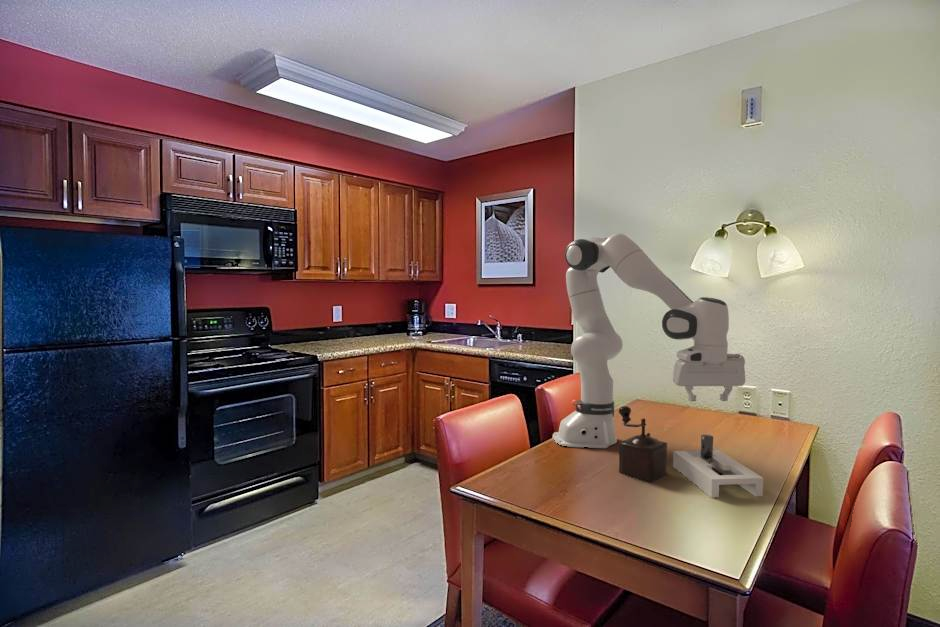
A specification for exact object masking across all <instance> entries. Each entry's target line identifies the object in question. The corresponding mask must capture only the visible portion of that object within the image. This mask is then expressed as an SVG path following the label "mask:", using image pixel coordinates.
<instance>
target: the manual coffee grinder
mask: <svg viewBox="0 0 940 627" xmlns="http://www.w3.org/2000/svg"><path fill="white" fill-rule="evenodd" d="M631 413H632V409H631V407H630V406H627V405H626V406H624V405H623V406H621V407H619V409H618V414H619V415H621V417H622V418H621V419H622V420H621V421H622V422H623V426H624V427H628V428H629V427H630V428H639V427H641V434H638V435H634V436H631V437H630V438H627V439H625V440H623V441H620V442H619V444H618V446H619V450H618V451H619V453H618V454H619V457H618V469H619V470H618V473H619V472H620V473H619V474H621V473H622V475H624V474H625V475H624V476H627V475H628V476H627V477H630V476H631V477H630V478H633V477H635V478H634V479H636V478H638V479H637V480H640V479H641V480H640V481H644V480H645V481H644V482H647V481H648V483H652V481H653V482H655V481H657V480H659V479H660V478H662V477H663V475H664V476H666V475H667V471H668V470H667V468H668V466H667V464H668V462H667V461H668V442H665V441H661V440H659V439H657V438H655V437H652V436H651V433H650V432H648V433H646V426H647V424H646V419H645V418H641V419H640V421H641V422H640V423H636V424H635V423H629V422H630V421H632V418H631V417H630V415H631ZM661 476H662V477H661ZM656 479H657V480H656ZM654 480H655V481H654Z"/></svg>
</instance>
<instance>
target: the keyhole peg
mask: <svg viewBox="0 0 940 627" xmlns="http://www.w3.org/2000/svg"><path fill="white" fill-rule="evenodd" d="M700 450H701V456H702V457H703V460H705V461H706V462H708V463H709V464H711V461H710V458H713V450H714V436H713V435H710V434H701V435H700ZM712 470H713V471H714V472H716V473H717V471H716V469H715V468H712Z"/></svg>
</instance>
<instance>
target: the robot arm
mask: <svg viewBox="0 0 940 627" xmlns="http://www.w3.org/2000/svg"><path fill="white" fill-rule="evenodd" d="M564 257H565V258H564V260H565V262H566V264H567V266H568V267H569V268H568V269H567V270H566V273H565V283H566V291H567V296H568V300H569V304H570V308H571V311H572V316H573V318H574V320H575V321H576V322H577V323H578V324H579V326H580V327H581V330H582V332H583V333H582V334H581V335H579V336H578V337H576V338H575V339H574V340H573V341H572V343H571V347H570V354H571V356H572V358H573V359H574V361H576V364H577V367H578V370H579V371H578V372H579V376H580V399H579V400H577V399H572V401H571V404H572V406H574V407H575V408H574V409H575V410H574V411H573V412H571V413H569V415H567V416H566V417H564V418H563V419H561V421H560V423H559V428H558V431H555V432H553V433H552V440H553V439H554V440H555V441H554V440H553V441H554V442H555V444H557V443H558V444H559V446H560V445H562V446H561V447H563V446H567V447H566V448H584V447H588V448H592V449H607V448H609V447H610V446H612V445H614V444H616V443H617V442H618V439H617V436H616V432H615V423H614V417H615V401H614V379H613V377H612V376H611V374H610V370H609V367H608V366H609V365H608V361H610V360H612V359H614V358H616V357H617V356H618V355H619V354H620V353H621V352H622V350H623V340H622V337H621V336H620V335H619V333H617V331H616V330H615V329H614V327H613V324H612V322H611V321H610V319H609V316H608V315H607V313H606V312H607V311H606V310H605V305H604V302H603V298H602V294H601V290H600V287H599V284H598V275H599V273H602V274H603V273H605V272H606V271H607V270H609V268H611V269H612V271H613V272H614V273H615V274H616V276H617V277H618V278H619V279H620V280H621V281H622V282H623V283H624V284H626V286H628V287H630V288H632V289H635V290H640V291H644V292H647V293H650V294H653V295H655V296H656V297H657V298H659V299H660V300H662V302H663V303H664V304H665V305H666V306H667V307H668V308H669V310H668V311H667V312H666V313H665V314H664V315H663V317H662V320H661V326H662V331H663V333H665V335H666V336H667V337H668V338H670V339H673V340H676V341H677V340H678V341H681V340H683V341H684V340H693V346H690V347H687V348H684V349H681V350H679V351H677V352H676V358H677V360H676V361H675V363H674V366H673V370H672V371H673V372H672V381H673V383H674V385H676V386H678V387H684V389H685V390H686V393H687V394H688V397H687V398H688V401H689V402H697V395H696V394H694V393H693V390H694V387H723V389H724V390H723V392H722V393H720V394H719V401H721V402H728V400H729V395H730V394H731V392H732V391H733V387H743V386H744V385H745V384H746V371H745V366H746V365H745V362H746V360H745V357H744V356H743V355H741V354H740V353H728V346H729V344H728V338H727V336H728V332H729V329H730V328H729V326H730V325H729V323H730V322H729V320H730V318H729V316H730V315H729V307H728V305H727V303H726V302H725V301H724V300H721V299H719V298H714V297H707V296H706V297H705V296H702V297H699V298H697V300H695V301H693V300H692V299H690V297H689V296H687V294H686V293H684V291H683V290H681V289H680V288H679V287H678V285H677V284H676V283H674V282H673V281H672V280H671V279H670V278H669V276H667V275H666V274H665V273H664V272H663V271H662V270H661V269H660V268H659V267H658V266H657V265H656V264H655V262H653V260H652V259H651V258H650V257H649V256H648V255H647V253H646V252H644V250H643V249H642V247H640V246H639V245H638V244H637V243H636V242H634V240H632V239H631V238H629V237H628V236H627V235H625V234H623V233H614V234H612V235H610V236H608V237H590V238H581V239H580V238H578V239H575V240H574V241H573V240H572V242H570V243H568V245H567V246H566V249H565V251H564ZM558 444H557V445H558ZM588 448H587V449H588Z"/></svg>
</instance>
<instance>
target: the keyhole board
mask: <svg viewBox="0 0 940 627" xmlns="http://www.w3.org/2000/svg"><path fill="white" fill-rule="evenodd" d="M672 455H673V457H672V467H673V468H674V469H675V470H676V469H677V470H676V471H677V472H679V473H680V472H681V473H682V474H683V475H682V474H681V473H680V474H681V475H682V476H684V477H685V478H686V477H687V478H688V481H690V482H691V481H692V482H693V483H692V482H691V483H692V484H694V485H695V484H696V485H697V486H698V489H700V490H701V491H702V490H703V491H704V492H703V491H702V492H703V493H705V494H706V495H707V494H708V495H709V496H708V495H707V496H708V497H710V498H711V499H713V498H714V499H716V498H715V497H718V498H719V497H720V496H719V495H720V486H724V485H738V486H739V487H741V488H742V489H743V490H745V491H747V492H748V493H750V494H751V495H752V496H753V497H755V498H756V497H763V496H764V495H763V494H764V477H762V476H761V475H759V474H758V473H757V472H755V471H753V470H751V469H750V468H748V467H746V466H744V465H743V464H742V463H740V462H739V461H736V460H735V459H734V458H732V457H730V456H729V455H727V454H726V453H723V452H722V451H720V450H719V449H713V458H710V464H709V463H708V462H706V461H705V460H703V457H702V456H701V449H699V450H698V449H697V450H696V449H694V450H673V454H672ZM712 469H714V470H715V471H716V470H717V471H716V472H714V471H713V470H712ZM718 472H719V473H721V474H722V475H720V474H719V473H718ZM687 478H686V479H687ZM696 485H695V486H696ZM697 486H696V487H697ZM718 498H717V499H718Z"/></svg>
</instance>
